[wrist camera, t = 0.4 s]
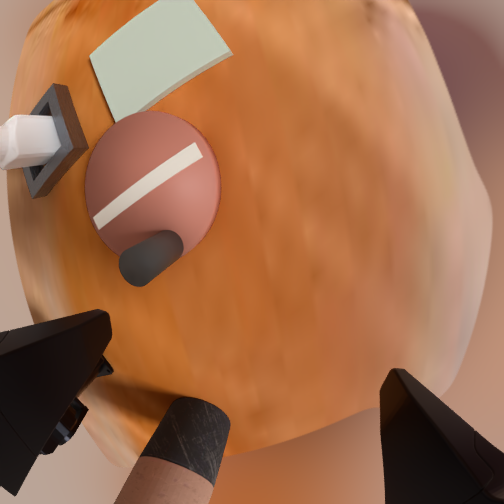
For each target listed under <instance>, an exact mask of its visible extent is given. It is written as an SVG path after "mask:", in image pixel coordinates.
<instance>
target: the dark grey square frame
mask: <svg viewBox="0 0 504 504" xmlns="http://www.w3.org/2000/svg"><path fill="white" fill-rule="evenodd" d="M30 115H39V116H52V118H53V121H54V124H55V128H56V131H57V134H58V137H59V140H60V143H61V146H60V148H59V149H58V150H57V151H56V152H55V154H54V155H53V156H52V157H51V159H50V160H49V161H48V163H47V164H46V165H45V166H43V165H37V166H29V167H22V168H23V172H24V175H25V178H26V182H27V185H28V188H29V191H30V194H31V197H32V199H35V198H39V197H43V196H46V195H47V194H48V193H49V192H50V190H51V189H52V188H53V187H54V186H55V184H56V183H57V182H58V181H59V180H60V179H61V177H62V176H63V175H64V174H65V173H66V172H67V171H68V169H69V168H70V167H71V166H72V165H73V164H74V163H75V162H76V161H77V160H78V159H79V158H80V156H81V155H82V154H83V153H84V152H85V151H86V150H87V149H88V148H89V147H88V144H87V142H86V139H85V136H84V134H83V131H82V128H81V126H80V123H79V120H78V117H77V114H76V111H75V109H74V106H73V103H72V99H71V96H70V93H69V90H68V87H67V86H65V85H60V84H54V83H53V84H52V85H51V87H50V88H49V89H48V90H47V92H46V93H45V94H44V96H43V97H42V98H41V99H40V101H39V102H38V104H37V105H36V106H35V108H34V109H33V110H32V112H31V113H30Z"/></svg>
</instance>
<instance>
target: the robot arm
mask: <svg viewBox="0 0 504 504" xmlns="http://www.w3.org/2000/svg"><path fill="white" fill-rule="evenodd" d="M111 338H112V328H111V322H110V316H109V314H108V313H107V312H106V311H103V310H100V309H95V310H91V311H87V312H83V313H79V314H75V315H71V316H67V317H63V318H59V319H55V320H51V321H47V322H43V323H39V324H34V325H30V326H26V327H22V328H17V329H13V330H10V331H4V332H0V486H2V487H3V488H4V489H5V490H7V491H8V492H9V493H11V494H12V495H14V496H16V495H17V493H18V491H19V490H20V488H21V486H22V484H23V482H24V480H25V478H26V476H27V475H28V473H29V471H30V469H31V467H32V466H33V464H34V462H35V460H36V459H37V457H38V455H39V454H43V455H47V454H50V453H53V452H54V450H55V449H56V448H57V446H58V445H63V444H64V443H66V442H67V441H68V440H69V439H71V437H72V436H73V435H74V434H75V432H76V430H77V429H78V427H79V425H80V424H81V422H82V420H83V418H84V417H85V415H86V413H87V412H88V410H89V409H88V408H87V407H86V406H84V405H83V404H82V403H81V402H80V400H79V399H78V397H79V396H80V395H81V393H82V392H83V391H84V390H85V389H86V388H87V387H88V386H89V384H90V383H91V382H92V381H93V380H94V379H95V378H96V377H100V376H105V375H110V374H112V373H113V372H114V371H113V369H112V367H111V366H110V365H109V363H108V362H107V361H106V359H105V358H104V357H103V355H102V354H103V352H104V351H105V349H106V347H107V345H108V344H109V342H110V340H111ZM380 435H381V445H382V456H383V467H384V482H385V504H504V453H503V452H501V451H500V450H499V449H497V448H496V447H494V446H493V445H492V444H491V443H490V442H488V441H487V440H486V439H485V438H484V437H482V436H481V435H480V434H479V433H478V432H477V431H474V429H473V428H472V427H471V426H470V425H469V424H468V423H466V422H465V421H464V420H463V419H462V418H461V417H460V416H458V415H457V414H456V413H455V412H454V411H453V410H451V409H450V408H449V407H448V406H447V405H445V404H444V403H443V402H442V401H441V400H440V399H439V398H438V397H436V396H435V395H434V394H433V393H432V392H431V391H429V390H428V389H427V388H426V387H425V386H424V385H422V384H421V383H420V382H419V381H418V380H416V379H415V378H414V377H413V376H412V375H411V374H409V373H408V372H407V371H406V370H405V369H400V368H393V369H391V370H390V372H389V373H388V375H387V377H386V379H385V381H384V383H383V384H382V386H381V389H380Z"/></svg>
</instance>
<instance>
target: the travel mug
mask: <svg viewBox="0 0 504 504" xmlns="http://www.w3.org/2000/svg"><path fill="white" fill-rule="evenodd" d="M229 430H230V420H229V418H228V417H227V415H226V414H225V413H224V412H223V411H222V410H220V409H219V408H218V407H216V406H214V405H212V404H211V403H208V402H206V401H203V400H200V399H195V398H180V399H177V400H175V401H174V402H173V403H172V405H171V406H170V408H169V409H168V411H167V412H166V414H165V416H164V417H163V419H162V421H161V422H160V424H159V426H158V427H157V429H156V430H155V432H154V434H153V435H152V437H151V439H150V440H149V442H148V444H147V445H146V447H145V448H144V450H143V452H142V453H141V455H140V457H139V459H138V460H137V462H136V464H135V466H134V467H133V469H132V471H131V473H130V475H129V477H128V478H127V480H126V482H125V484H124V486H123V488H122V490H121V491H120V493H119V495H118V497H117V499H116V501H115V502H114V504H208V503H209V500H210V497H211V495H212V492H213V488H214V485H215V481H216V478H217V474H218V471H219V467H220V464H221V460H222V457H223V453H224V449H225V446H226V442H227V438H228V434H229Z"/></svg>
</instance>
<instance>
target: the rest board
mask: <svg viewBox="0 0 504 504" xmlns="http://www.w3.org/2000/svg"><path fill="white" fill-rule="evenodd" d="M232 55H233V54H232V52H231V51H230V49H229V48H228V46H227V45H226V43H225V42H224V41H223V39H222V38H221V36H220V35H219V34H218V32H217V31H216V29H215V28H214V27H213V25H212V24H211V23H210V21H209V20H208V18H207V17H206V16H205V14H204V13H203V12H202V11H201V9H200V8H199V7H198V5H197V4H196V3H195V2H194V0H159V1H157V2H156V3H154V4H153V5H151V6H150V7H148V8H147V9H145V10H144V11H142V12H141V13H140V14H138V15H137V16H136V17H134V18H133V19H132V20H130V21H129V22H128V23H126V24H125V25H124V26H123V27H121V28H120V29H119V30H118V31H116V32H115V33H114V34H113V35H112V36H110V37H109V38H108V39H107V40H106V41H105V42H104V43H102V44H101V45H100V46H99V47H98V48H97V49H96V50H95V51H94V52H93V53H92V54H91V55H90V56H89V57H90V59H91V62H92V65H93V68H94V70H95V73H96V75H97V78H98V81H99V83H100V86H101V88H102V91H103V93H104V96H105V98H106V101H107V103H108V105H109V108H110V110H111V113H112V115H113V117H114V119H115V122H118V121H119V120H121V119H123V118H124V117H127V116H129V115H131V114H134V113H138V112H143V111H146V110H148V109H149V108H150V107H151V106H153V105H154V104H156V103H157V102H158V101H160V100H161V99H162V98H164V97H165V96H167V95H168V94H169V93H171V92H172V91H174V90H175V89H177V88H178V87H180V86H181V85H183V84H184V83H186V82H187V81H189V80H191V79H192V78H194V77H195V76H197V75H199V74H200V73H202V72H203V71H205V70H207V69H209V68H210V67H212V66H214V65H215V64H217V63H219V62H221V61H223V60H224V59H226V58H228V57H230V56H232Z"/></svg>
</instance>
